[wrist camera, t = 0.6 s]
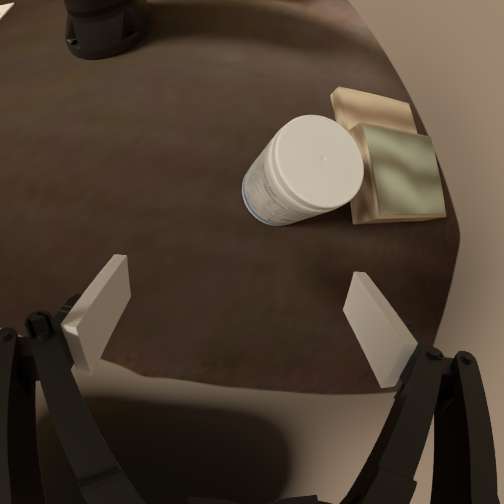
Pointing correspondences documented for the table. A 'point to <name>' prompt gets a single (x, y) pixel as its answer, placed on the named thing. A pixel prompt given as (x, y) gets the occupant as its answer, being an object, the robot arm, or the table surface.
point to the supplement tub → (303, 172)
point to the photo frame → (5, 9)
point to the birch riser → (389, 160)
